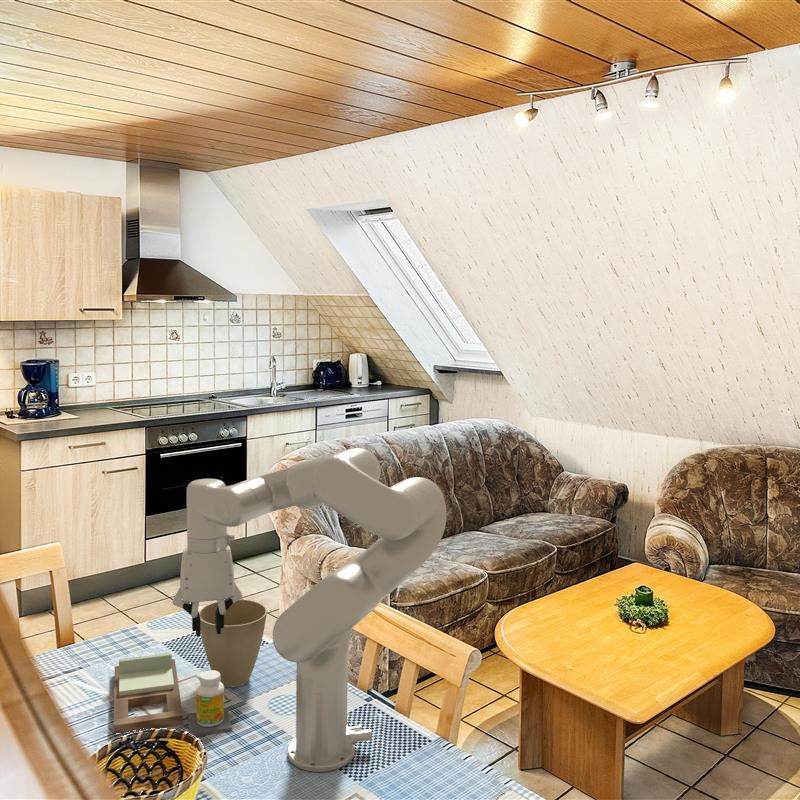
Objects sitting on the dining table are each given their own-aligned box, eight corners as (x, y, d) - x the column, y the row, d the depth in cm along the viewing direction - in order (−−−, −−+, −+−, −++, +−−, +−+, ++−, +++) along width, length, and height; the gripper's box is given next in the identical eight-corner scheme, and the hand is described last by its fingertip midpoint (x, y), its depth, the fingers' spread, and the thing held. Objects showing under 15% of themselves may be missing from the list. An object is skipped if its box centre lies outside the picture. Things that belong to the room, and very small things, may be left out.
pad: (226, 710, 164) (226, 707, 164) (231, 730, 157) (231, 727, 157) (187, 716, 162) (186, 713, 161) (190, 736, 154) (190, 734, 154)
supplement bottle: (196, 729, 156) (196, 682, 155) (196, 715, 161) (195, 669, 160) (224, 725, 157) (224, 679, 156) (223, 712, 162) (223, 667, 161)
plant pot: (186, 691, 172) (185, 620, 170) (217, 661, 186) (217, 596, 184) (250, 700, 168) (249, 629, 166) (277, 669, 183) (277, 603, 181)
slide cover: (171, 669, 177) (171, 652, 176) (174, 688, 169) (173, 670, 168) (119, 676, 173) (118, 659, 173) (119, 696, 165) (118, 677, 164)
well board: (174, 667, 183) (174, 658, 182) (182, 724, 158) (182, 715, 158) (114, 674, 178) (114, 666, 178) (113, 735, 154) (113, 725, 154)
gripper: (246, 534, 161) (247, 620, 163) (162, 540, 155) (163, 630, 158) (252, 545, 154) (252, 635, 156) (164, 552, 148) (165, 645, 150)
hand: (208, 631), depth 157 cm, fingers open, 3 cm apart
